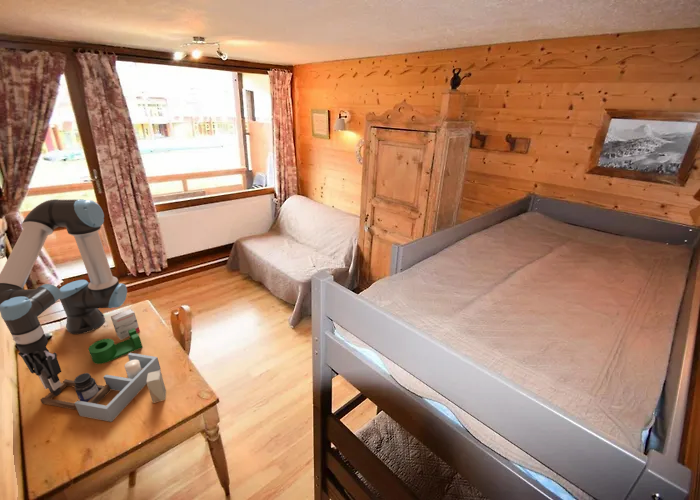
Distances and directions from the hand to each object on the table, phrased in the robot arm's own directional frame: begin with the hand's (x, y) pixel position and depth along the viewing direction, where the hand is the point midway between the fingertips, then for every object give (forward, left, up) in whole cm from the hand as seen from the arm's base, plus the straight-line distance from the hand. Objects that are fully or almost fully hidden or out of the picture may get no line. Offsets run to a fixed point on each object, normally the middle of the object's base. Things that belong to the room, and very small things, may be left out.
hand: (53, 386), depth 123 cm
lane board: (-6, +24, -4) cm, 25 cm away
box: (-6, +39, -4) cm, 40 cm away
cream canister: (-12, +24, -4) cm, 27 cm away
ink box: (-36, 0, -4) cm, 36 cm away
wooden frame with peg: (0, +9, -3) cm, 9 cm away
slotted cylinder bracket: (-24, +4, -4) cm, 25 cm away
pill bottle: (0, +15, -4) cm, 15 cm away
